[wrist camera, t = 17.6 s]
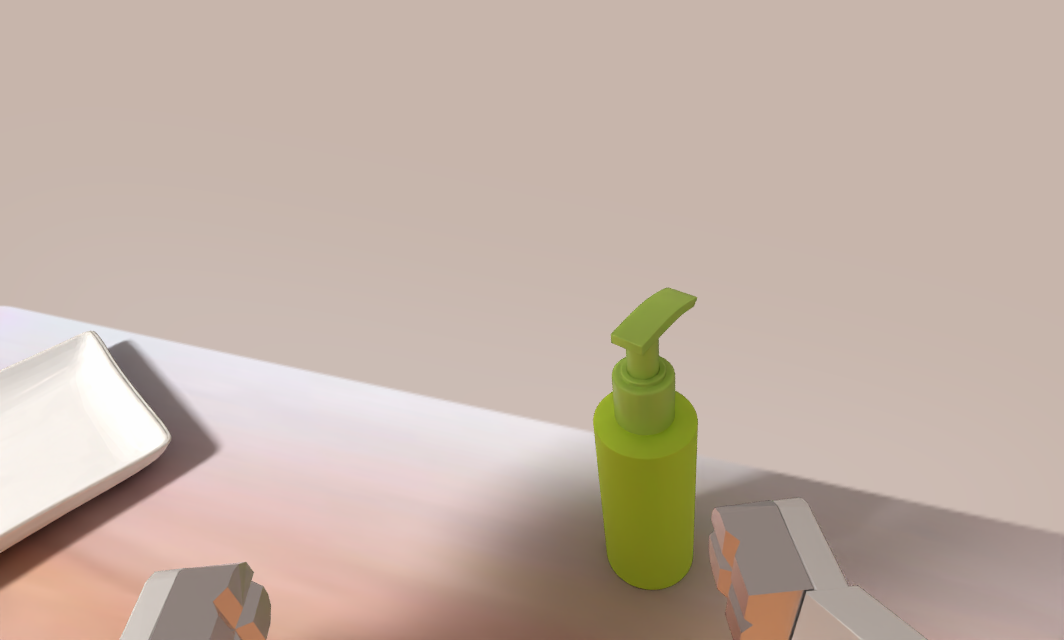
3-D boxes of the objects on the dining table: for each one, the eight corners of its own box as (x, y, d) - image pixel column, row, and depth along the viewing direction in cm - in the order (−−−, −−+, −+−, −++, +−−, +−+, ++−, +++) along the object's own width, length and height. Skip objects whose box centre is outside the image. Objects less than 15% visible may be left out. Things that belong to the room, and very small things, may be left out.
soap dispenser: (716, 531, 45) (733, 301, 33) (662, 607, 41) (659, 377, 29) (645, 491, 48) (637, 269, 36) (589, 558, 44) (560, 334, 32)
